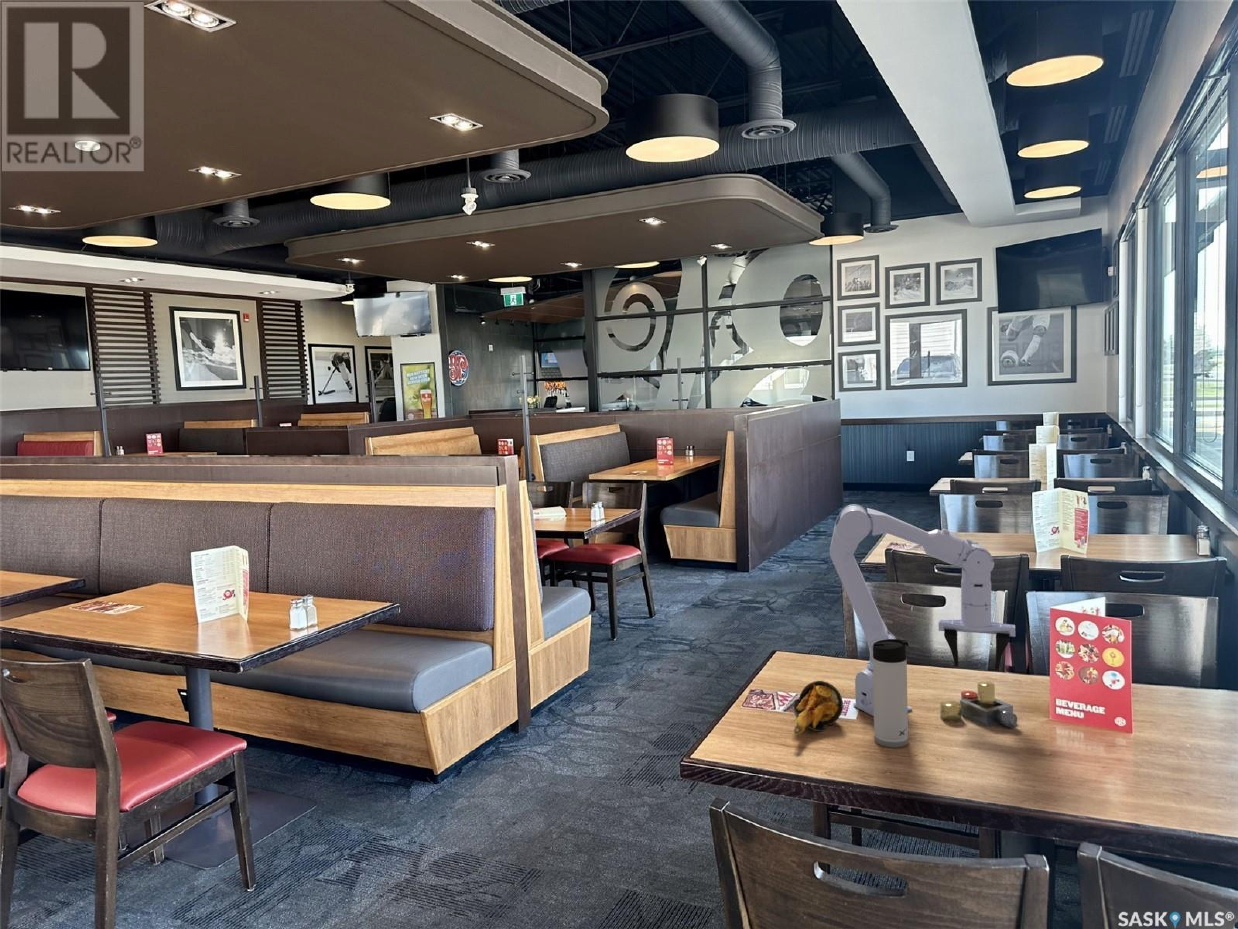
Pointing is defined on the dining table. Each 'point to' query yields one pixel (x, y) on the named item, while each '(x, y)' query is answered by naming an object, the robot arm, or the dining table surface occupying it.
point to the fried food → (817, 707)
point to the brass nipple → (986, 694)
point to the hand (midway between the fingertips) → (976, 666)
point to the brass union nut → (950, 711)
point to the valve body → (987, 711)
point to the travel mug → (890, 693)
